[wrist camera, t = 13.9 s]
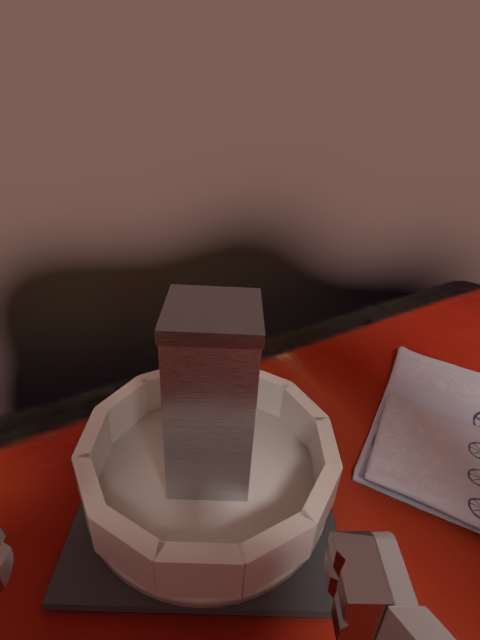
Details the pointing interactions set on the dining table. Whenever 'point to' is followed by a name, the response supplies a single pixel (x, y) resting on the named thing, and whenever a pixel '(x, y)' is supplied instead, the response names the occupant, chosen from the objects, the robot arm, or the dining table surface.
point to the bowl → (206, 515)
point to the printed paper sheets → (427, 439)
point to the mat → (115, 596)
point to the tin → (209, 389)
